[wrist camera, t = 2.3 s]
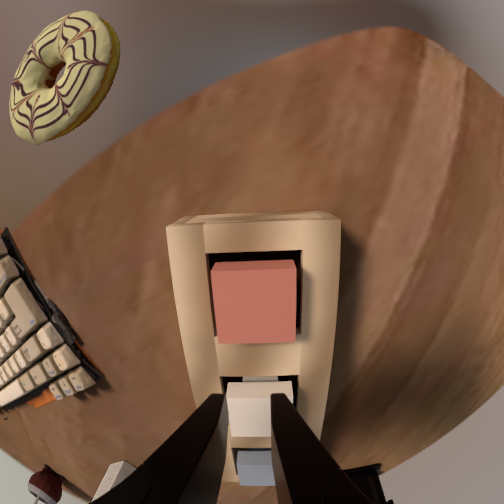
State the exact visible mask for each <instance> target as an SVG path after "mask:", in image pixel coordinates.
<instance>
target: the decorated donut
mask: <svg viewBox="0 0 504 504" xmlns="http://www.w3.org/2000/svg"><path fill="white" fill-rule="evenodd" d="M119 58H120V42H119V38H118V36H117V34H116V33H115V31H114V29H113V27H112V26H110V24H109V23H108V22H107V21H105V20H104V19H102V18H101V17H100V16H98V15H97V14H95V13H92V12H89V11H80V12H76V13H71V14H69V15H67V16H64V17H63V18H60V19H59V20H57V21H56V22H54V23H52V24H50V25H49V26H47V27H46V28H45V29H44V30H43V31H42V33H41V34H40V35H39V36H38V37H37V38H36V40H35V41H34V42H33V43H32V44H31V46H30V47H29V49H28V50H27V52H26V54H25V56H24V58H23V59H22V61H21V63H20V65H19V67H18V69H17V71H16V74H15V77H14V80H13V84H12V87H11V94H10V117H11V122H12V125H13V128H14V129H15V132H16V134H17V135H18V136H20V137H21V138H23V139H25V140H26V141H28V142H30V143H32V144H35V145H39V144H40V143H43V142H46V141H49V140H53V139H56V138H58V137H61V136H63V135H66V134H67V133H69V132H71V131H72V130H74V129H75V128H77V127H78V126H80V125H81V124H82V123H83V122H85V121H86V120H87V119H89V118H90V117H91V115H92V114H93V113H94V112H95V111H96V109H98V107H99V106H100V104H101V103H102V101H103V100H104V99H105V97H106V95H107V93H108V91H109V90H110V87H111V85H112V84H113V80H114V78H115V75H116V71H117V69H118V65H119ZM65 65H66V67H65V71H64V74H63V76H62V78H61V79H60V80H59V81H58V82H57V83H56V84H55V81H56V77H57V75H58V73H59V71H60V70H61V69H62V68H63V67H64V66H65ZM54 84H55V85H54Z"/></svg>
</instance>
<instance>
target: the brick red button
mask: <svg viewBox="0 0 504 504" xmlns="http://www.w3.org/2000/svg"><path fill="white" fill-rule="evenodd" d="M211 281H212V291H213V301H214V310H215V319H216V328H217V336H218V344H249V343H282V342H295V338H296V266H295V263H294V261H293V260H268V261H239V262H215V264H214V266H213V268H212V270H211Z"/></svg>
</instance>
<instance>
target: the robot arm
mask: <svg viewBox="0 0 504 504" xmlns="http://www.w3.org/2000/svg"><path fill="white" fill-rule="evenodd" d="M270 407H271V460H272V467H273V474H274V480H275V486H276V492H277V498H278V503H279V504H394V503H393V500H389V501H388V502H386V500H385V496H384V493H383V490H382V486H381V483H380V480H379V476H378V472H379V470H380V468H381V465H380V464H376V465H372V466H367V467H362V468H357V469H352V470H346V471H343V470H342V469H340V466H339V465H338V464H337V463H336V461H335V460H334V459H333V457H332V456H331V455H330V454H329V452H328V451H327V450H326V448H325V447H324V446H323V444H322V443H321V442H320V441H319V439H318V438H317V437H316V435H315V434H314V433H313V431H312V430H311V429H310V427H309V426H308V424H307V423H306V422H305V420H304V419H303V418H302V416H301V415H300V414H299V412H298V411H297V409H296V408H295V407H294V405H293V404H292V403H291V401H290V400H289V398H288V397H287V396H286V394H285V393H272V394H271V395H270ZM228 421H229V412H228V405H227V399H226V395H225V394H223V393H212V394H210V395H209V397H208V398H207V399H206V400H205V401H204V402H203V403H202V404H201V405H200V406H199V407H198V408H197V409H196V410H195V411H194V412H193V413H192V415H191V416H190V417H189V418H188V419H187V420H186V421H185V422H184V423H183V424H182V425H181V426H180V427H179V428H178V429H177V430H176V431H175V432H174V433H173V434H172V435H171V436H170V437H169V438H168V439H167V440H166V441H165V442H164V443H163V444H162V445H161V446H160V447H159V448H158V449H157V450H156V451H155V452H154V453H153V454H152V455H151V456H150V457H148V458H147V459H146V460H145V461H144V462H143V464H141V465H140V466H139V467H138V468H137V469H136V470H134V471H133V472H132V473H131V474H130V475H129V476H128V477H126V478H125V479H124V480H123V481H122V482H120V483H119V484H118V485H116V486H115V487H113V488H112V489H111V490H109V491H108V492H106V493H105V494H103V495H102V496H100V497H99V498H97V499H95V500H94V501H92V502H91V503H89V504H216V503H217V499H218V494H219V490H220V485H221V480H222V476H223V471H224V467H225V461H226V452H227V436H228Z"/></svg>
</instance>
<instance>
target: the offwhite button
mask: <svg viewBox="0 0 504 504" xmlns="http://www.w3.org/2000/svg"><path fill="white" fill-rule="evenodd" d="M272 393H285V394H286V396H287V397H288V398H289V400H290V401H291V403H292V404H293V390H292V382H291V381H280V382H278V376H244V377H243V382H228V386H227V392H226V399H227V405H228V412H229V423H230V430H231V436H232V437H271V407H270V395H271V394H272Z"/></svg>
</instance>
